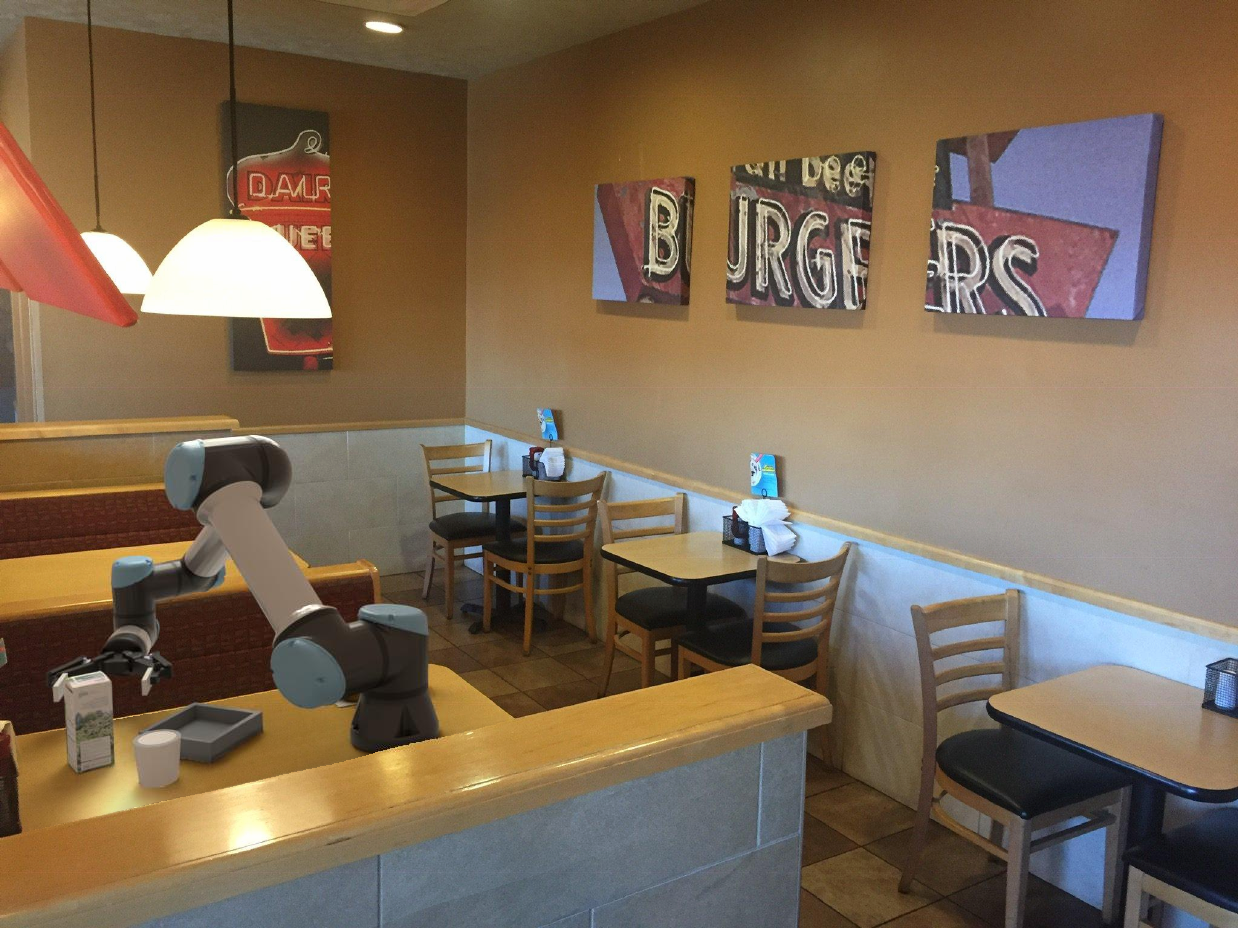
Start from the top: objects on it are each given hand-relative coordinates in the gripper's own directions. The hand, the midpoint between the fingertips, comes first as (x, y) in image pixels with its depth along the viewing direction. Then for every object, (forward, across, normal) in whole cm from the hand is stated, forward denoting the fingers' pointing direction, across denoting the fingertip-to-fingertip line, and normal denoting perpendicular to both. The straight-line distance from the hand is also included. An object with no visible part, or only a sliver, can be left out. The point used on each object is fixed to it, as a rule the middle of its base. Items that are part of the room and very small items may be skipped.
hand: (100, 690), depth 171 cm
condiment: (-12, -42, -9) cm, 44 cm away
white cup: (+18, -12, -9) cm, 23 cm away
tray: (+4, -16, -9) cm, 19 cm away
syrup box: (+9, 0, -9) cm, 13 cm away
